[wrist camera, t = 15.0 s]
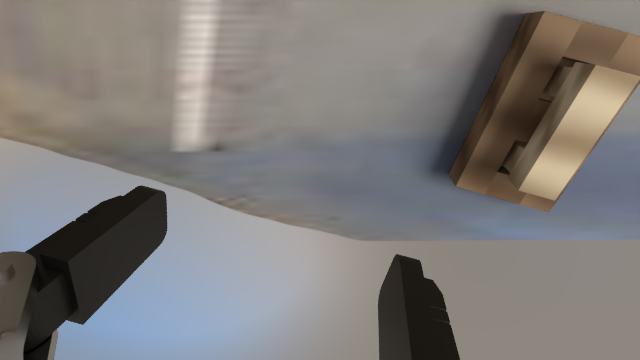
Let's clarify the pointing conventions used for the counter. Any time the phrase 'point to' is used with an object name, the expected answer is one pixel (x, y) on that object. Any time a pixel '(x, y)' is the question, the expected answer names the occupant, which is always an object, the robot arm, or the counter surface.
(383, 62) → the counter surface
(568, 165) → the beige wooden plank
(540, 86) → the brown slotted wooden block
